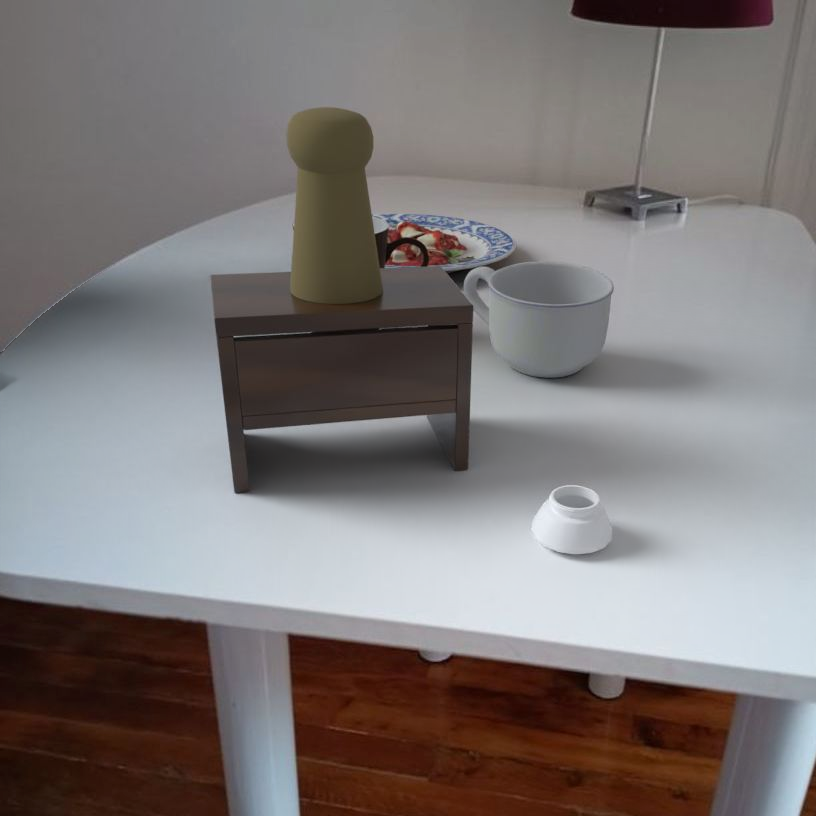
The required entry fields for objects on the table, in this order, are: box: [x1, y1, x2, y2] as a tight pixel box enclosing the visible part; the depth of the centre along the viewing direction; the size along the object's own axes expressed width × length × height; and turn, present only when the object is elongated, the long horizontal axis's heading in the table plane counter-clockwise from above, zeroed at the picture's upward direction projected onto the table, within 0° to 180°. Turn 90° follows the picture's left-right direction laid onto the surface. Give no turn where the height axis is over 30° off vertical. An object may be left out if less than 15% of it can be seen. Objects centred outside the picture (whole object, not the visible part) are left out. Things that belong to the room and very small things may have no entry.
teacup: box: [463, 260, 615, 379], centre depth 81 cm, size 14×11×8 cm
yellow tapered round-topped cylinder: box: [285, 106, 383, 304], centre depth 57 cm, size 6×6×11 cm
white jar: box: [530, 484, 613, 555], centre depth 57 cm, size 5×3×5 cm
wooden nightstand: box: [209, 266, 474, 494], centre depth 63 cm, size 9×16×12 cm, turn 107°
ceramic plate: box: [372, 213, 517, 274], centre depth 110 cm, size 26×26×3 cm
